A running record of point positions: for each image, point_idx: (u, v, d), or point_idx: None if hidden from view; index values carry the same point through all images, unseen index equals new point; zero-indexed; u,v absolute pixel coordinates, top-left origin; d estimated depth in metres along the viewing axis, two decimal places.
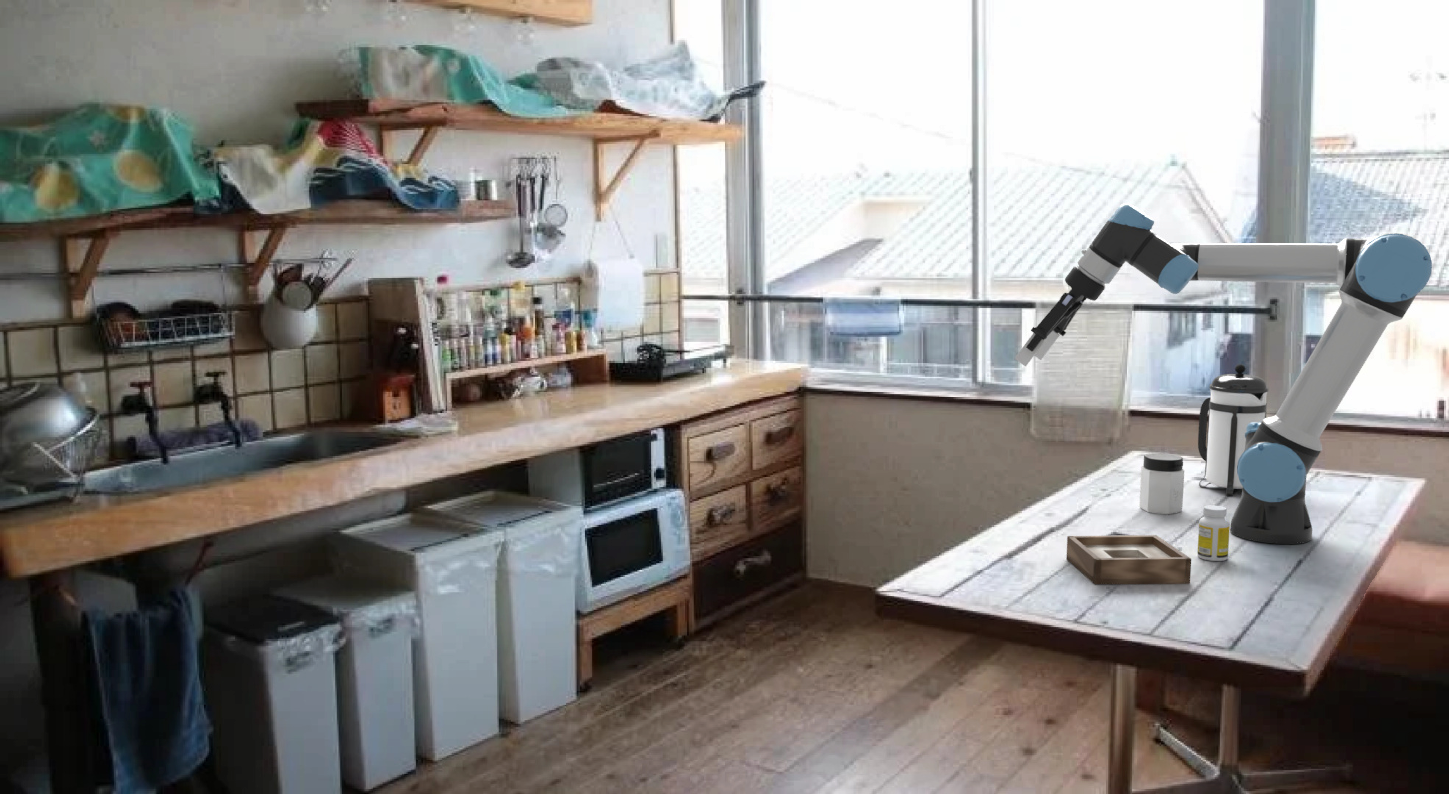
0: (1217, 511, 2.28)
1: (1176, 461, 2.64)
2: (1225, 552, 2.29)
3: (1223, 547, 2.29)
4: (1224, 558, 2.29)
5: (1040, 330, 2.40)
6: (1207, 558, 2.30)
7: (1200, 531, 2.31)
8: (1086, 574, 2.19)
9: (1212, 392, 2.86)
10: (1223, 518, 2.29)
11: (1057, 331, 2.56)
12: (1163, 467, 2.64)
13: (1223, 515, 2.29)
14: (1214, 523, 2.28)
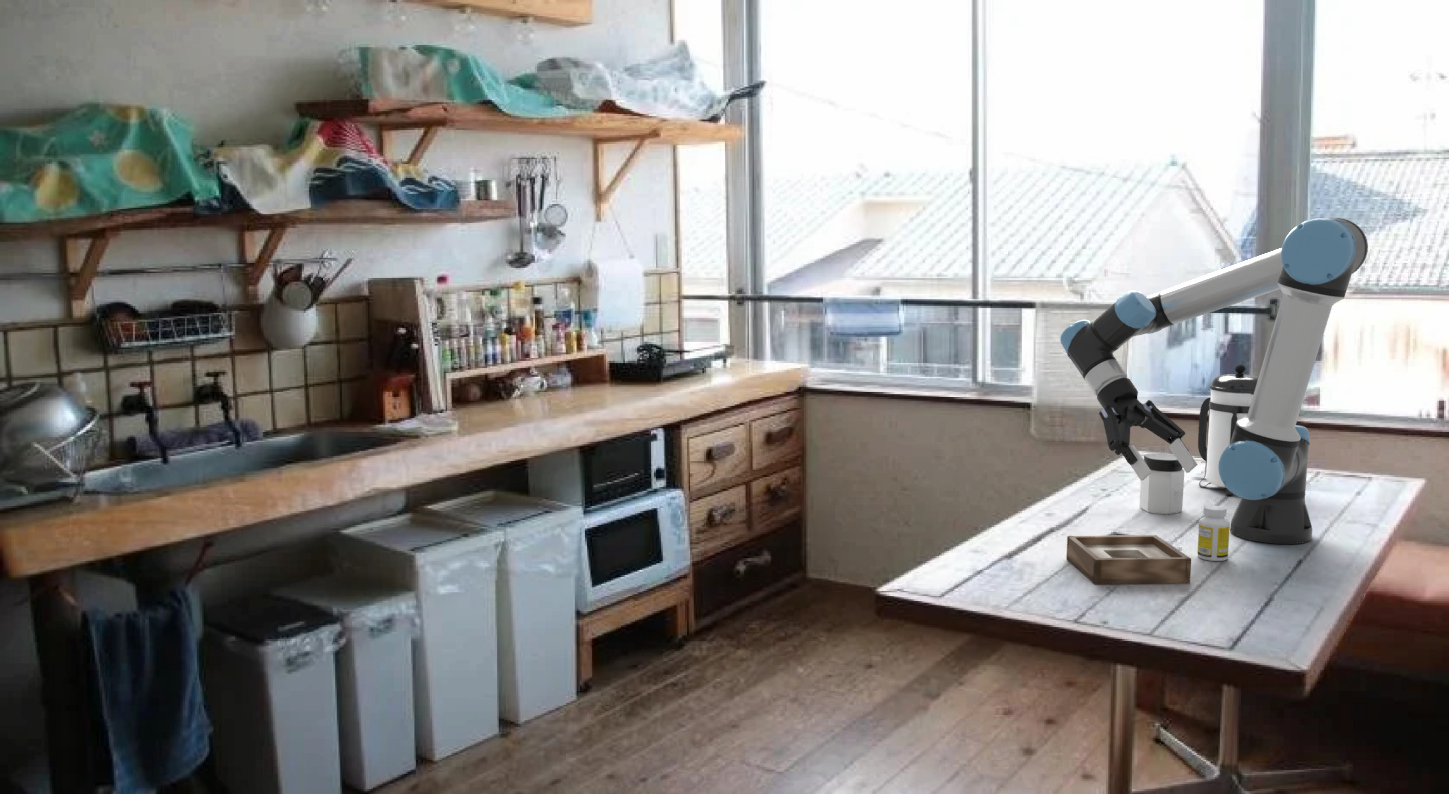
0: (1217, 511, 2.28)
1: (1176, 461, 2.64)
2: (1225, 552, 2.29)
3: (1223, 547, 2.29)
4: (1224, 558, 2.29)
5: (1112, 444, 2.37)
6: (1207, 558, 2.30)
7: (1200, 531, 2.31)
8: (1086, 574, 2.19)
9: (1212, 392, 2.86)
10: (1223, 518, 2.29)
11: (1175, 439, 2.45)
12: (1163, 467, 2.64)
13: (1223, 515, 2.29)
14: (1214, 523, 2.28)
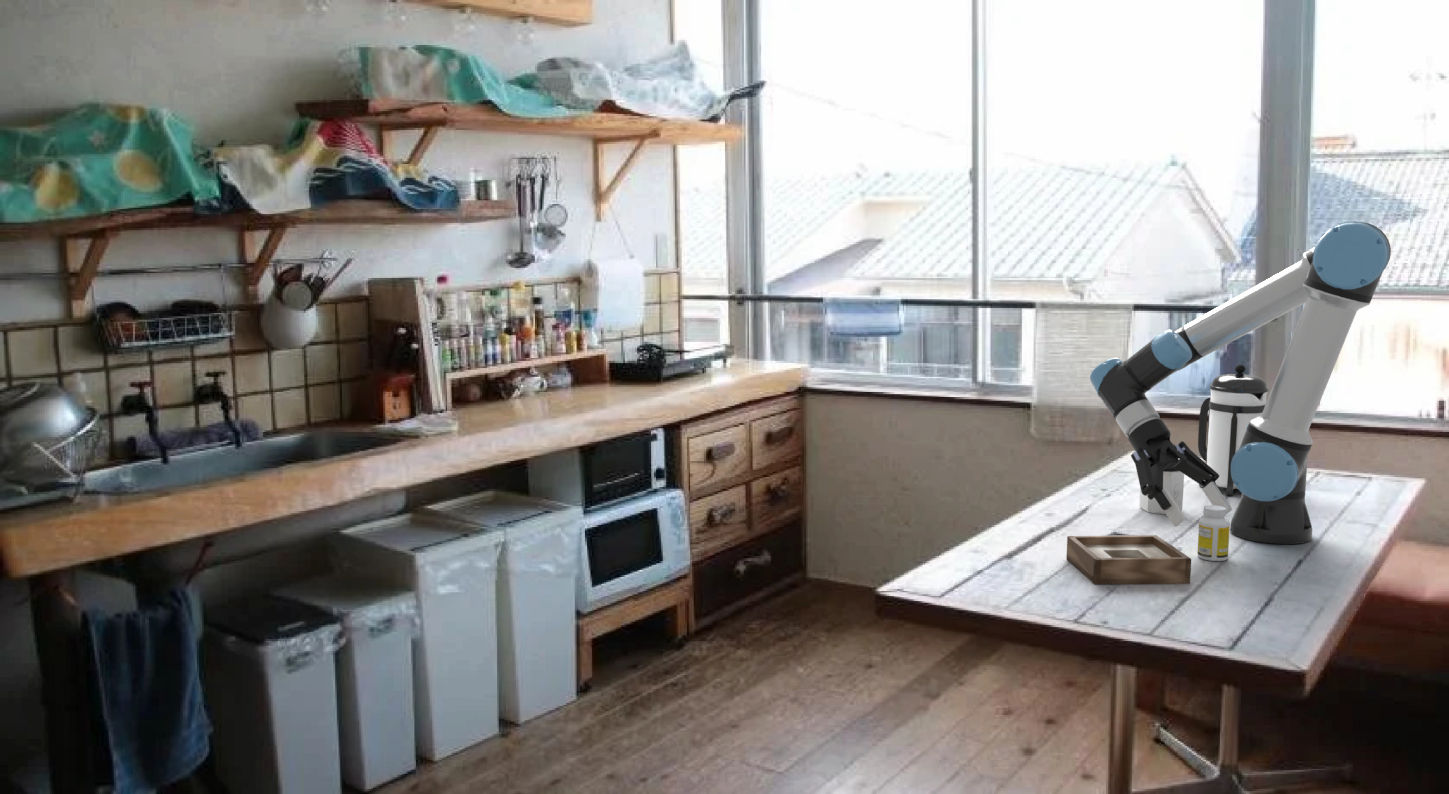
0: (1217, 511, 2.28)
1: None
2: (1225, 552, 2.29)
3: (1223, 547, 2.29)
4: (1224, 558, 2.29)
5: (1145, 488, 2.31)
6: (1207, 558, 2.30)
7: (1200, 531, 2.31)
8: (1086, 574, 2.19)
9: (1212, 392, 2.86)
10: (1223, 518, 2.29)
11: (1209, 482, 2.38)
12: None
13: (1223, 515, 2.29)
14: (1214, 523, 2.28)
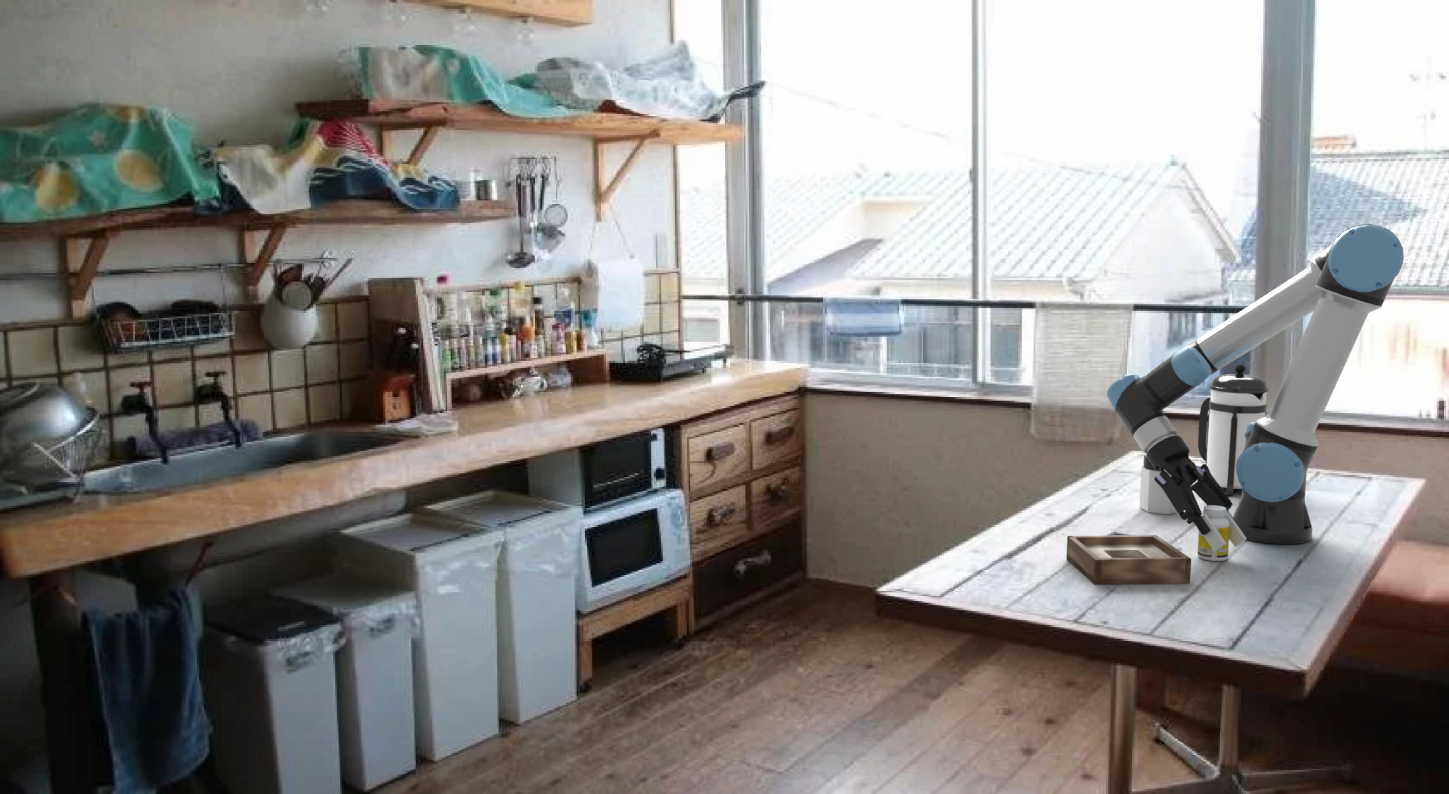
0: (1217, 511, 2.28)
1: None
2: (1225, 552, 2.29)
3: (1223, 547, 2.29)
4: (1224, 558, 2.29)
5: (1184, 513, 2.29)
6: (1207, 558, 2.30)
7: None
8: (1086, 574, 2.19)
9: (1212, 392, 2.86)
10: (1223, 518, 2.29)
11: None
12: None
13: (1223, 515, 2.29)
14: (1214, 523, 2.28)
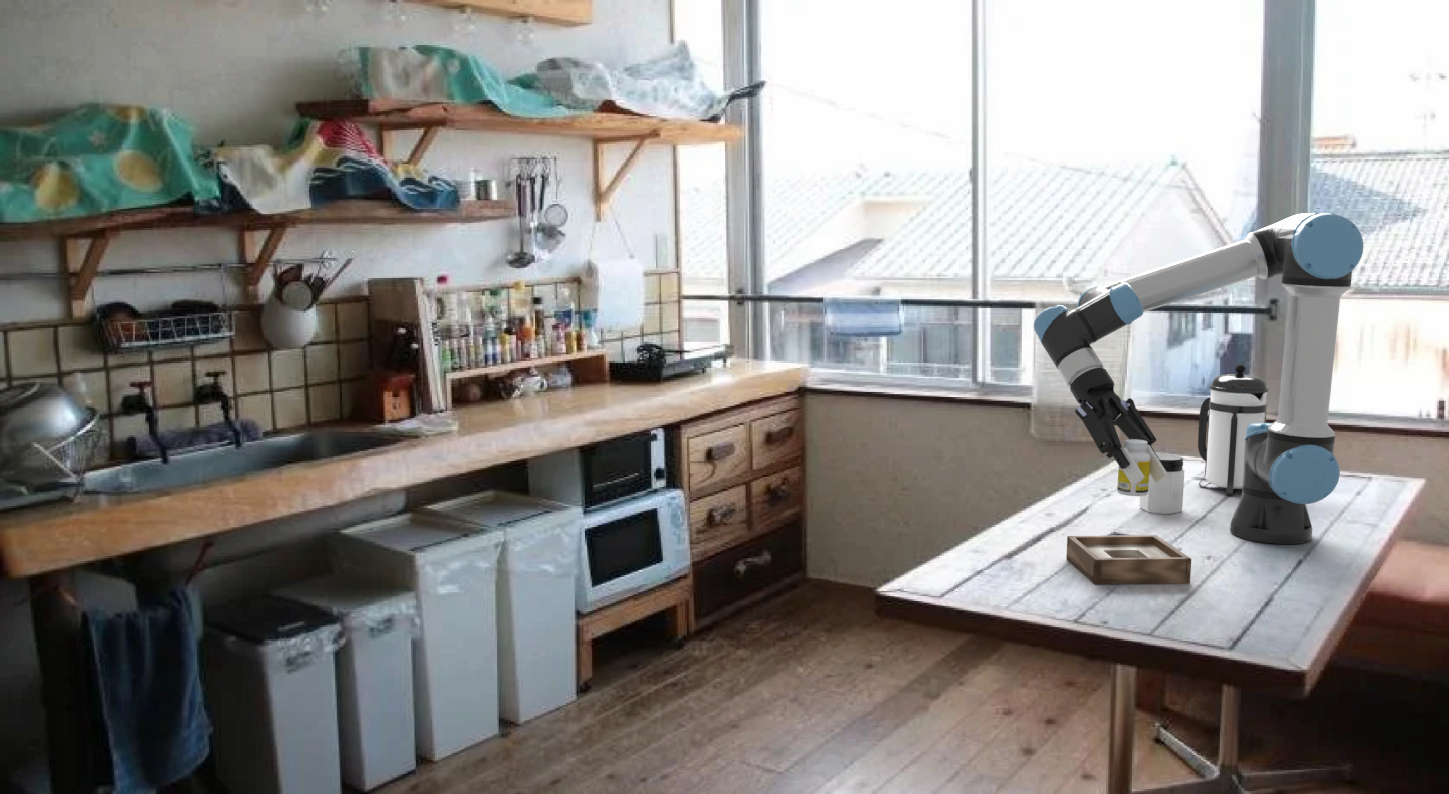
0: (1137, 444, 2.20)
1: (1176, 461, 2.64)
2: (1145, 487, 2.21)
3: (1142, 482, 2.20)
4: (1143, 493, 2.21)
5: (1102, 446, 2.20)
6: (1126, 493, 2.21)
7: None
8: (1086, 574, 2.19)
9: (1212, 392, 2.86)
10: (1143, 452, 2.20)
11: None
12: None
13: (1143, 448, 2.20)
14: (1134, 456, 2.20)
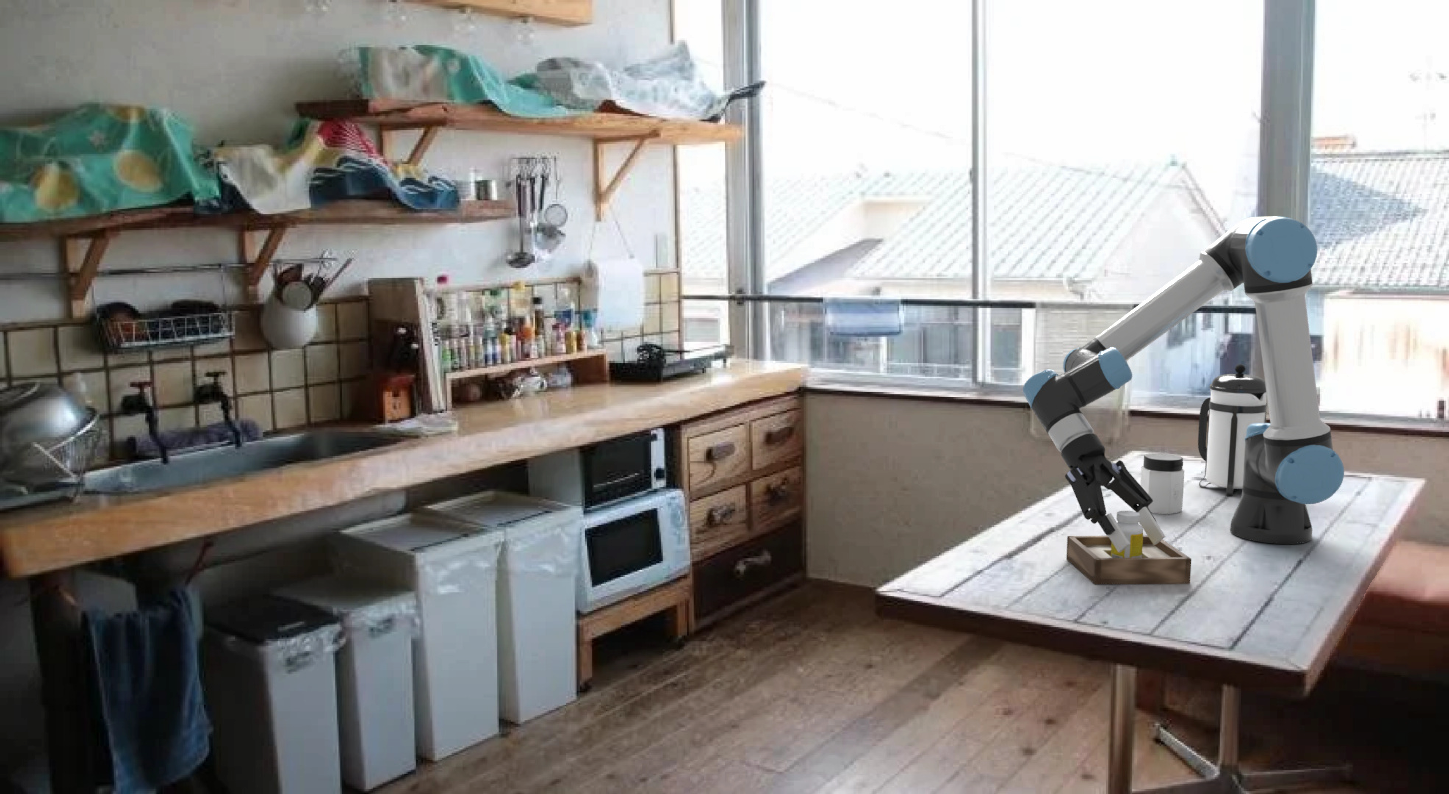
0: (1130, 517, 2.20)
1: (1176, 461, 2.64)
2: None
3: (1136, 554, 2.20)
4: None
5: (1087, 512, 2.19)
6: None
7: None
8: (1086, 574, 2.19)
9: (1212, 392, 2.86)
10: (1136, 524, 2.20)
11: (1141, 507, 2.25)
12: (1163, 467, 2.64)
13: (1136, 521, 2.20)
14: (1127, 529, 2.20)
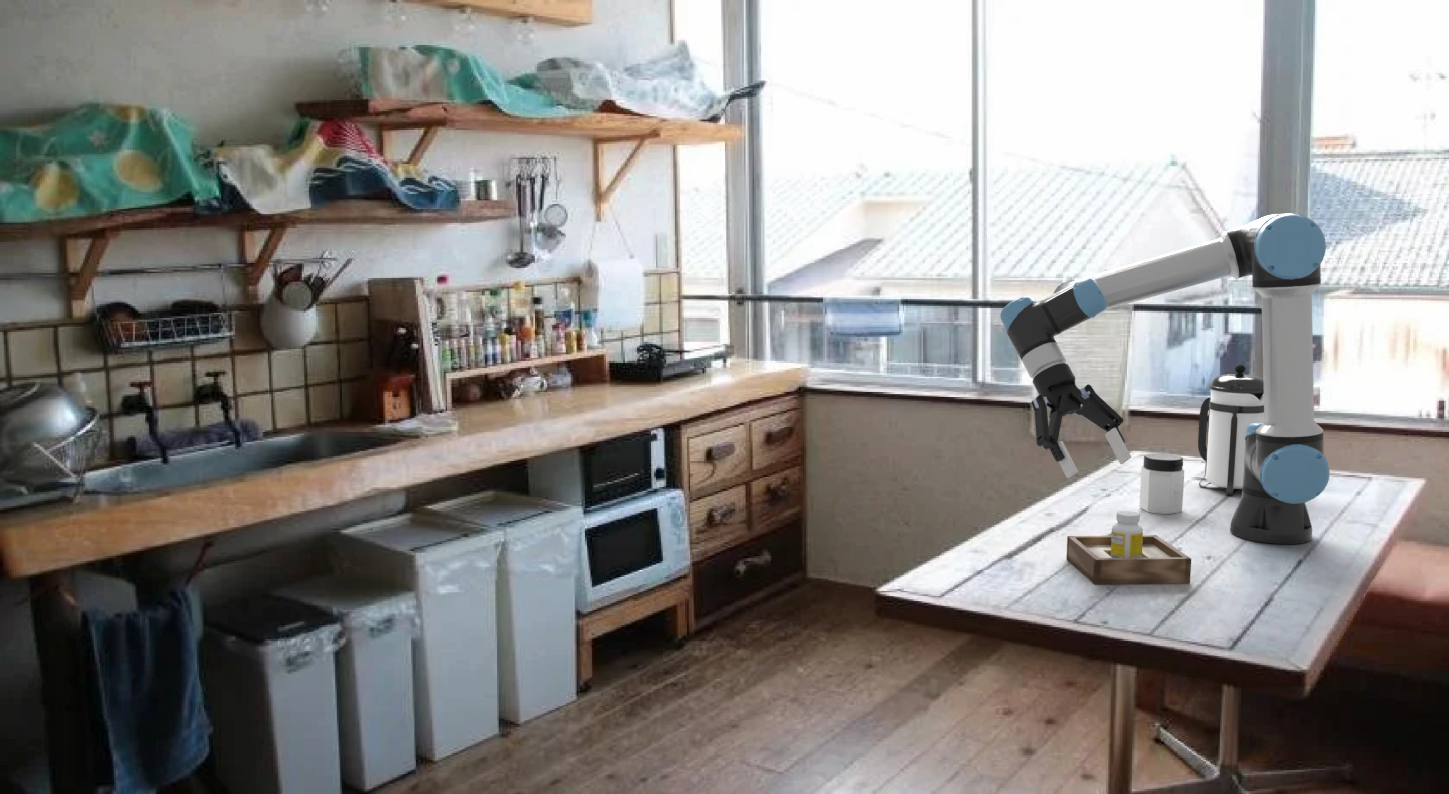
0: (1129, 517, 2.20)
1: (1176, 461, 2.64)
2: None
3: (1136, 554, 2.20)
4: None
5: (1039, 440, 2.28)
6: None
7: (1113, 538, 2.22)
8: (1086, 574, 2.19)
9: (1212, 392, 2.86)
10: (1136, 524, 2.20)
11: (1112, 428, 2.35)
12: (1163, 467, 2.64)
13: (1136, 521, 2.20)
14: (1127, 529, 2.20)
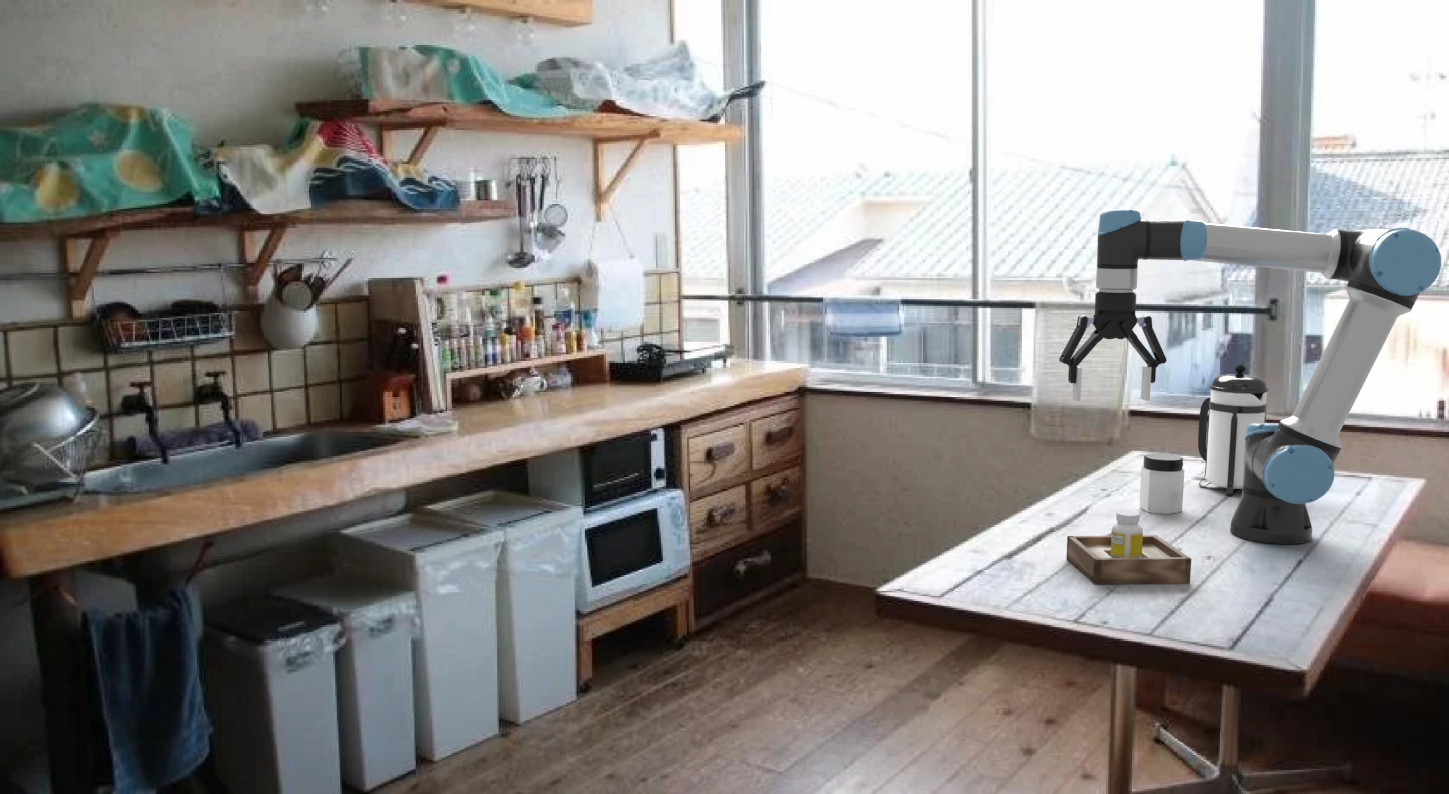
0: (1129, 517, 2.20)
1: (1176, 461, 2.64)
2: None
3: (1136, 554, 2.20)
4: None
5: (1061, 358, 2.36)
6: None
7: (1113, 538, 2.22)
8: (1086, 574, 2.19)
9: (1212, 392, 2.86)
10: (1136, 524, 2.20)
11: (1149, 365, 2.36)
12: (1163, 467, 2.64)
13: (1136, 521, 2.20)
14: (1127, 529, 2.20)
